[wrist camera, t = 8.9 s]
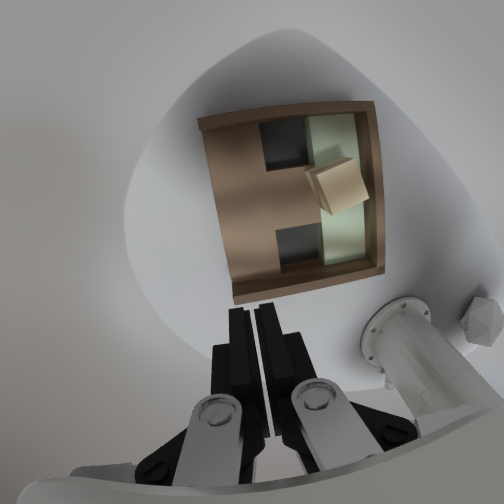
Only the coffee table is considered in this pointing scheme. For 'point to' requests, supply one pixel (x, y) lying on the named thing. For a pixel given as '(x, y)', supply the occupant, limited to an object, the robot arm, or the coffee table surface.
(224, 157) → the box
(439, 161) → the coffee table surface
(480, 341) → the die
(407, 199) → the coffee table surface
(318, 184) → the maple block
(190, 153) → the coffee table surface
